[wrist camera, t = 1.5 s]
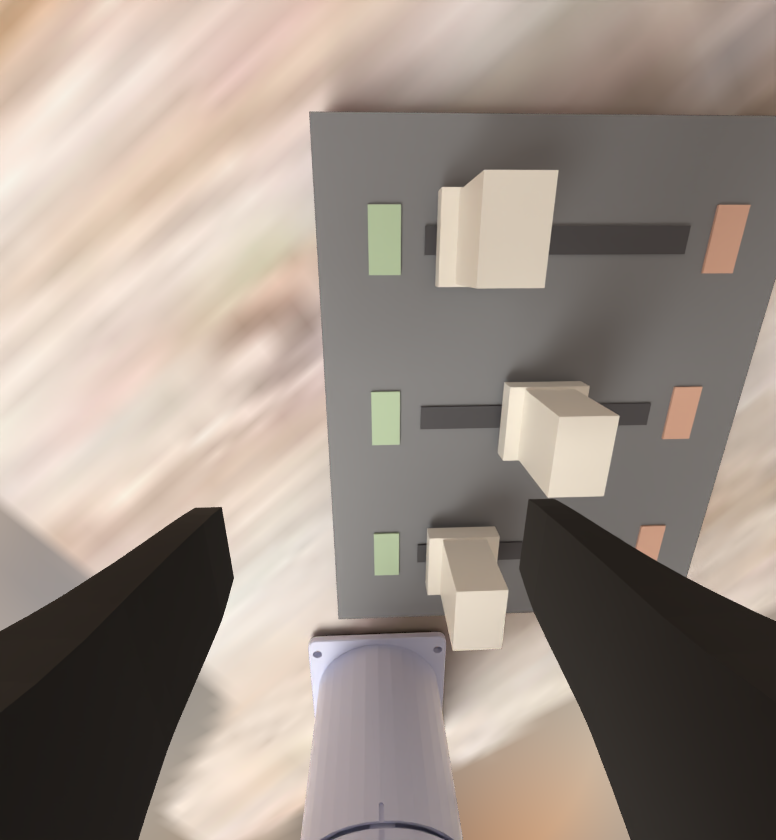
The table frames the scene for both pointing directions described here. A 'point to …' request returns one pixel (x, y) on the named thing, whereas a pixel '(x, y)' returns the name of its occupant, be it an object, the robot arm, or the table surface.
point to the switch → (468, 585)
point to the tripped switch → (558, 436)
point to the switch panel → (532, 328)
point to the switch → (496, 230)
